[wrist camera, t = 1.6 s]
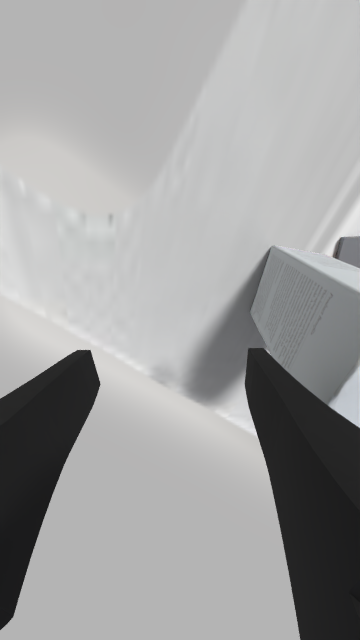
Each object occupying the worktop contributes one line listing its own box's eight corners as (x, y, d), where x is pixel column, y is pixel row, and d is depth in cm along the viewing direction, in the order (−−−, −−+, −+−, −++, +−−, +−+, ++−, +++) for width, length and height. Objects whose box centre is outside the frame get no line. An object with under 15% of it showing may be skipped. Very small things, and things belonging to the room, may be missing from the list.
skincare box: (295, 320, 20) (404, 453, 10) (248, 312, 20) (306, 437, 10) (326, 251, 17) (531, 332, 7) (271, 241, 17) (391, 310, 7)
